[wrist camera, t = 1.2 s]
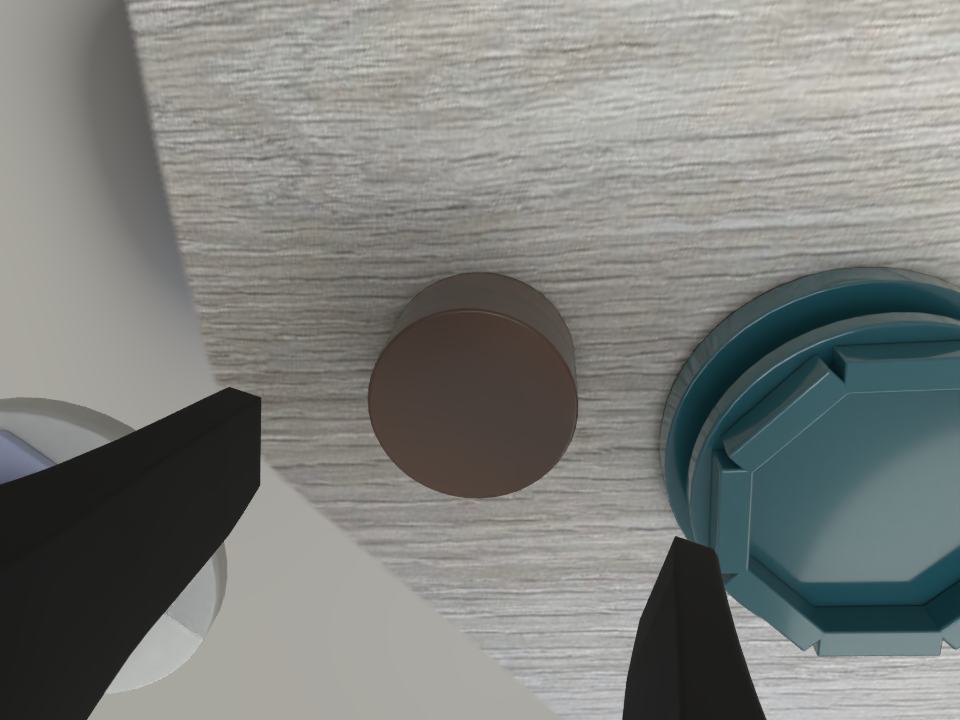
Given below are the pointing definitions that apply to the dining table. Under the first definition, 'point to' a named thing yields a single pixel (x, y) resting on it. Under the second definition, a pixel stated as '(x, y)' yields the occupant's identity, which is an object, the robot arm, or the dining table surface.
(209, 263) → the dining table surface
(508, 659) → the dining table surface
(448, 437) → the cylinder
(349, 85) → the dining table surface
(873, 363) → the stand
